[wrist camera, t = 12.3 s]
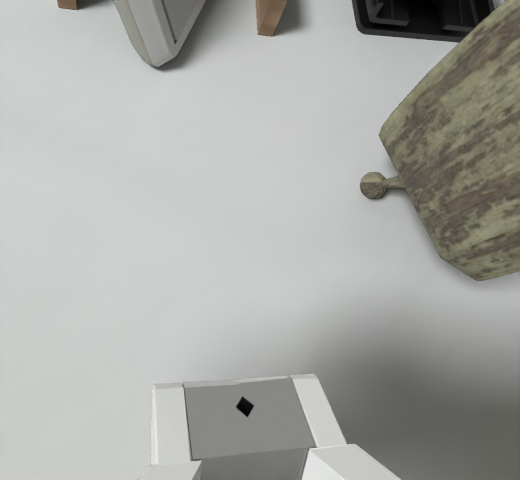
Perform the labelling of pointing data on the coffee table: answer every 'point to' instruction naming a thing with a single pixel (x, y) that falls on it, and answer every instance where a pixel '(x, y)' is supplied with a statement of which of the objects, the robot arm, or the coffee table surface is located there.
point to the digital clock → (158, 26)
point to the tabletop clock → (464, 149)
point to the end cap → (421, 18)
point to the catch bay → (267, 9)
